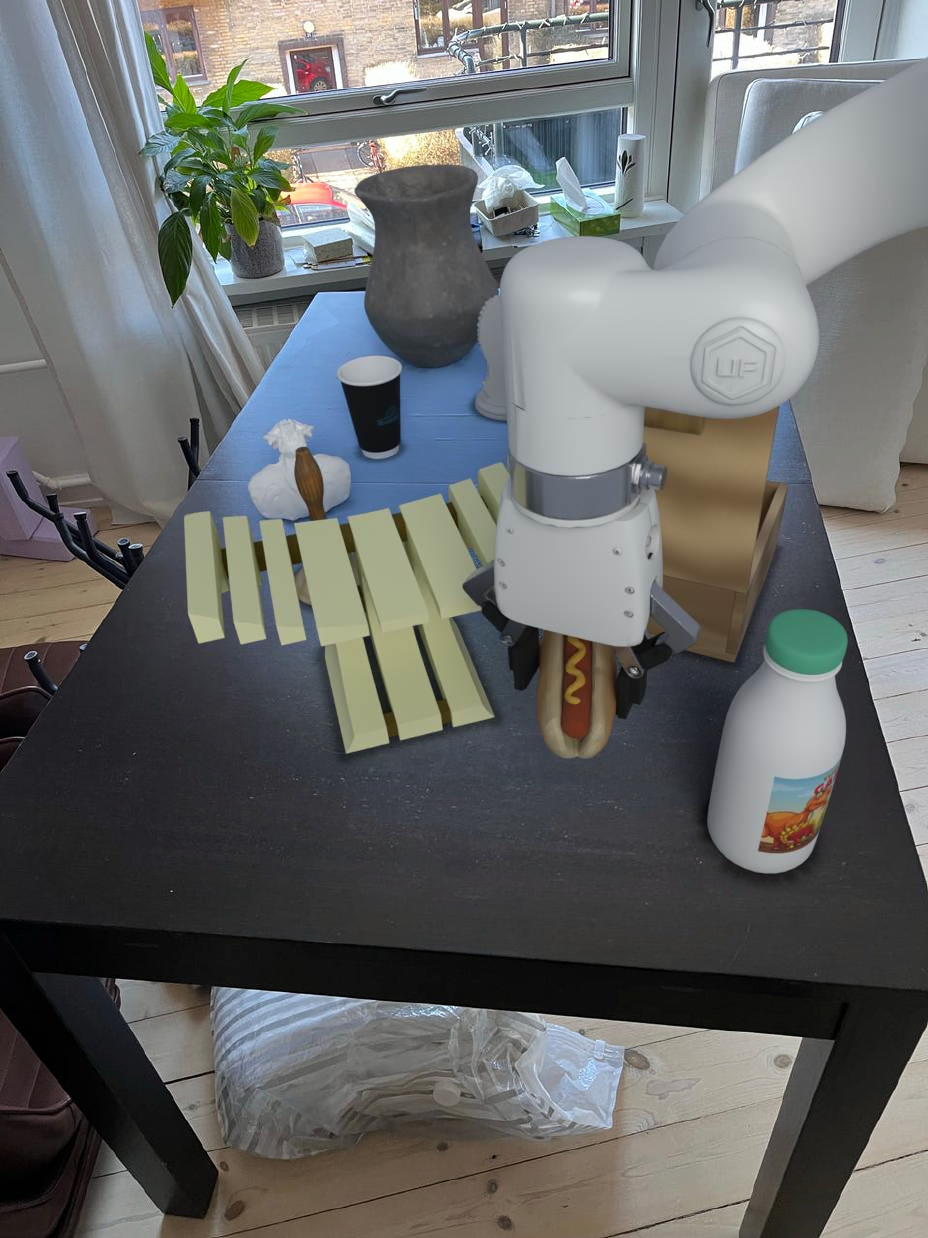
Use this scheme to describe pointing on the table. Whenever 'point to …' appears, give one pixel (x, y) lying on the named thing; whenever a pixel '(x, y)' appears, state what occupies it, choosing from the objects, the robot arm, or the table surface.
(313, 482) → the hand bell
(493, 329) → the chess piece
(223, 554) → the slatted curved stool
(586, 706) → the food
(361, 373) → the dixie cup
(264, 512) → the white tied sack
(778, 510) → the box
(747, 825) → the milk bottle
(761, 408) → the robot arm
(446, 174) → the vase
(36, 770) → the table surface
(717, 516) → the lid
